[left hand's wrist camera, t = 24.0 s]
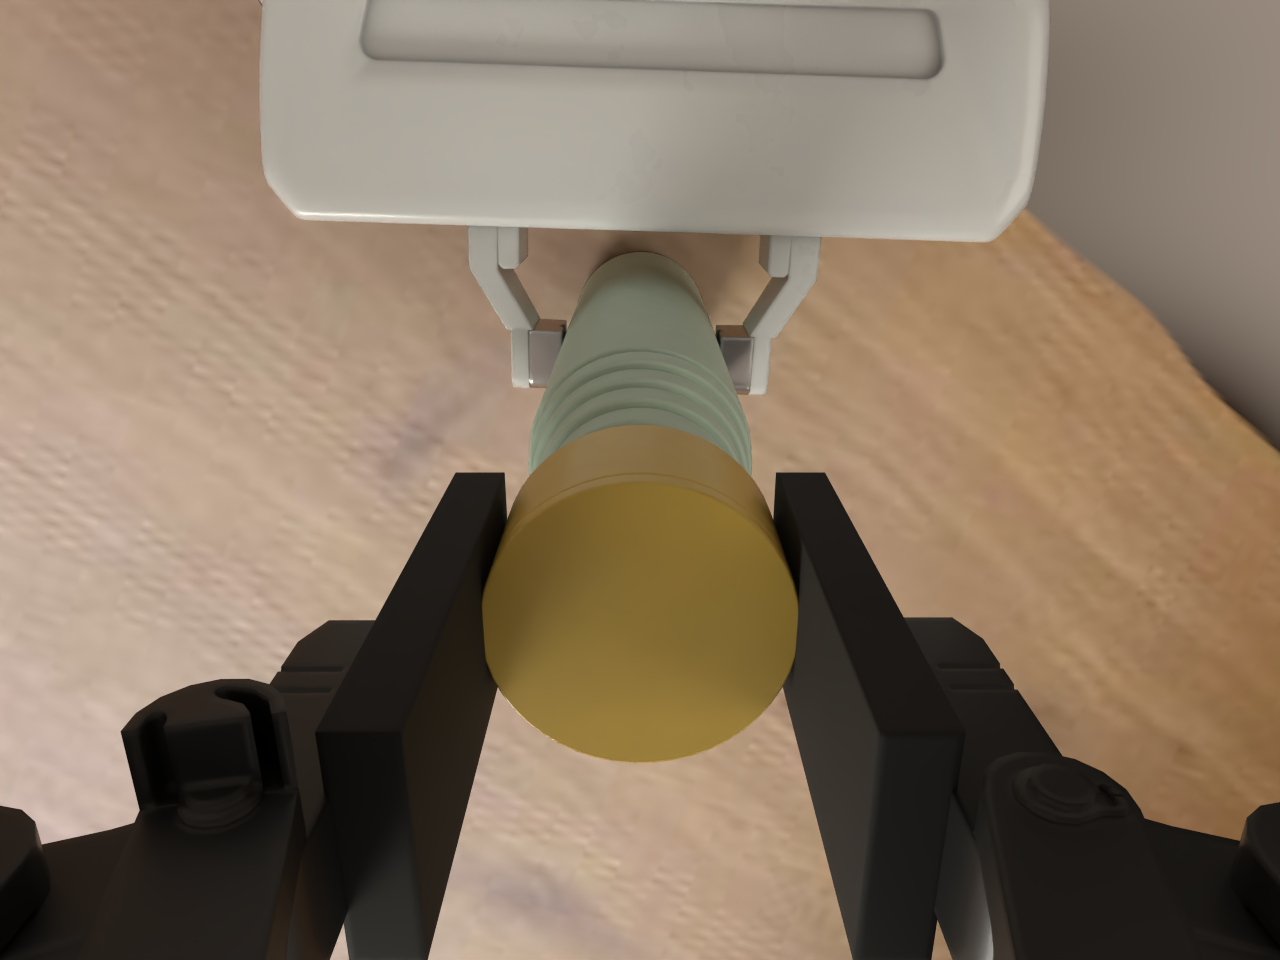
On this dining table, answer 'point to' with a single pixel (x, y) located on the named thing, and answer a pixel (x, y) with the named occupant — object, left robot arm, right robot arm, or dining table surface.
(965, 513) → the dining table surface
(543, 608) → the cap
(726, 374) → the bottle
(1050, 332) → the dining table surface
